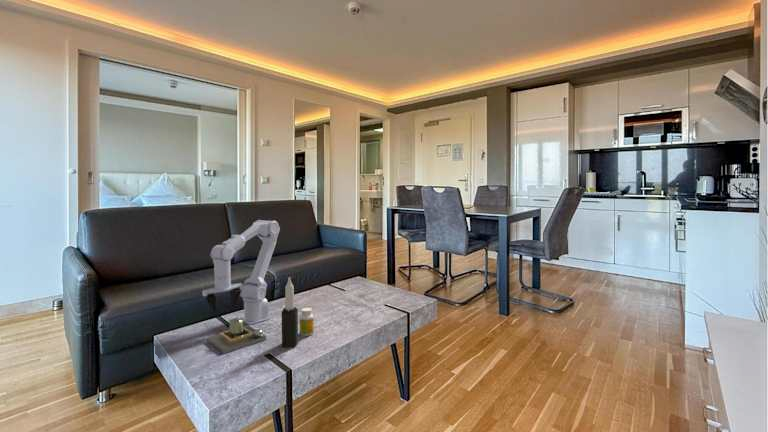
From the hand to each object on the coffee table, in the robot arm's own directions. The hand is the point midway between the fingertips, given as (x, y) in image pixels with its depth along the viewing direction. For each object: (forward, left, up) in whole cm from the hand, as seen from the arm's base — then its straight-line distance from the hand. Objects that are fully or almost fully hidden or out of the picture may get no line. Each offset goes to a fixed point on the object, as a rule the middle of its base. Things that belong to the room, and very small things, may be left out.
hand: (223, 310), depth 134 cm
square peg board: (0, +10, -9) cm, 14 cm away
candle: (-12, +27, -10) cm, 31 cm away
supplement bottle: (-22, +23, -10) cm, 34 cm away
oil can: (0, +10, -9) cm, 14 cm away
